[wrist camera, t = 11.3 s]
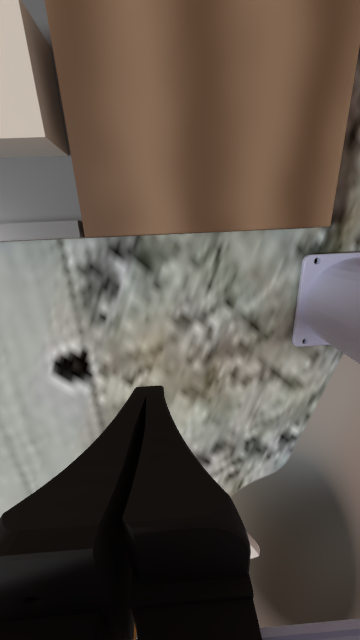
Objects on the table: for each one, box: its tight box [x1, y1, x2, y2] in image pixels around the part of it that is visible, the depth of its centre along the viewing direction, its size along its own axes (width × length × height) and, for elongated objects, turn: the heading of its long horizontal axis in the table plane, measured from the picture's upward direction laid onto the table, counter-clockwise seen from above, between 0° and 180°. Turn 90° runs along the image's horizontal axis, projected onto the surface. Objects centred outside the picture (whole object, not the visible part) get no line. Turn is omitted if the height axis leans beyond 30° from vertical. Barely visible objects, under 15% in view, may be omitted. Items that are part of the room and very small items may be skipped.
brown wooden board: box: [45, 0, 360, 237], centre depth 14 cm, size 16×16×3 cm
